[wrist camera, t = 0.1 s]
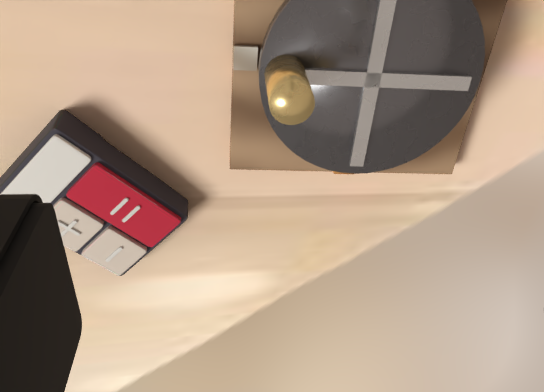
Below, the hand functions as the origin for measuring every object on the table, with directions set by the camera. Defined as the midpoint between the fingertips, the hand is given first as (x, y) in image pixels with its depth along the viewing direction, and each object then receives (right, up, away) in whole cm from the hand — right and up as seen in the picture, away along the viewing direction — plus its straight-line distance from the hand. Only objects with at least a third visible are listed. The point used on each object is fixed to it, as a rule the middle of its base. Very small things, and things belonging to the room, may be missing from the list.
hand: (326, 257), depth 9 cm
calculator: (-18, +2, +43) cm, 47 cm away
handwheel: (+7, +12, +34) cm, 37 cm away
